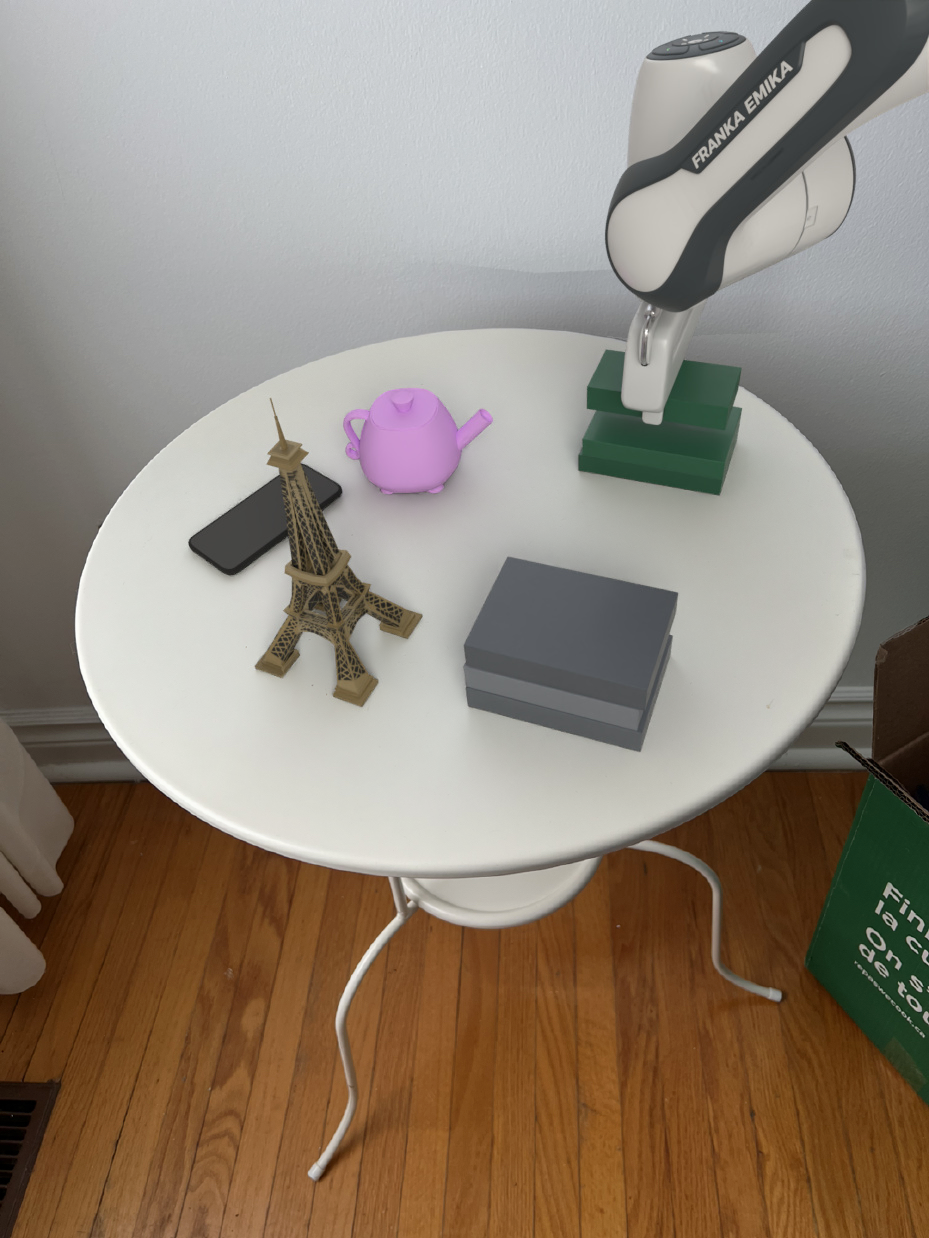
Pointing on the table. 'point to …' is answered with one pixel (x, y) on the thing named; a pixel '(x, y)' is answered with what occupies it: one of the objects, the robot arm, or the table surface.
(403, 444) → the teapot
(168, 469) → the table surface
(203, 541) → the smartphone
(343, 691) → the eiffel tower
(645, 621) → the grey stack
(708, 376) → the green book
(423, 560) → the table surface
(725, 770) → the table surface
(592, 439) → the green stack
